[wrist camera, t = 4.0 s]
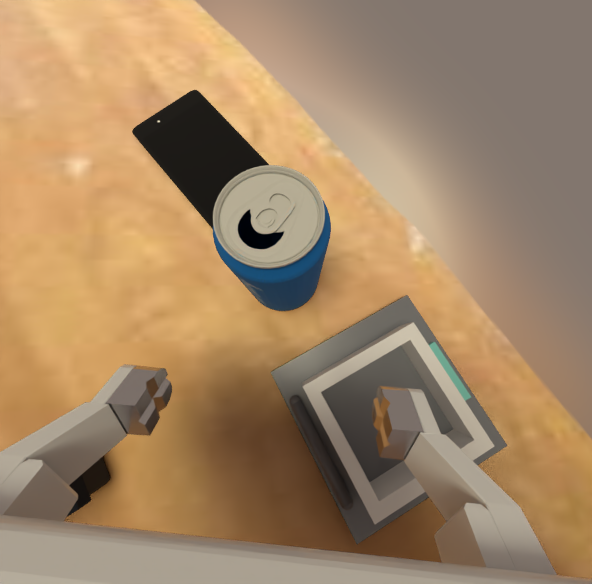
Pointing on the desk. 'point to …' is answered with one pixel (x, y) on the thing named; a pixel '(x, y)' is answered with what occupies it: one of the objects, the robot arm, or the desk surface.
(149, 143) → the cell phone
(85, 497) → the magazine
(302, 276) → the beverage can
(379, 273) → the desk surface
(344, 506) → the charging dock
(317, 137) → the desk surface
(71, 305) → the desk surface
